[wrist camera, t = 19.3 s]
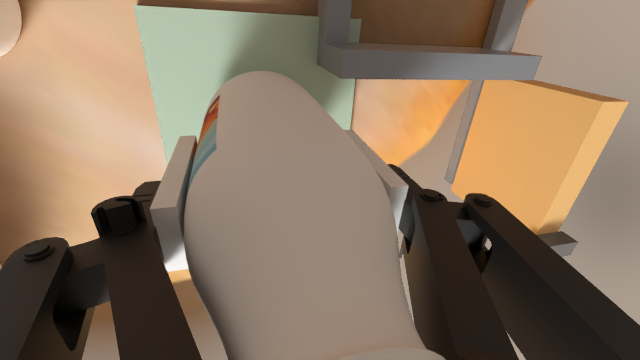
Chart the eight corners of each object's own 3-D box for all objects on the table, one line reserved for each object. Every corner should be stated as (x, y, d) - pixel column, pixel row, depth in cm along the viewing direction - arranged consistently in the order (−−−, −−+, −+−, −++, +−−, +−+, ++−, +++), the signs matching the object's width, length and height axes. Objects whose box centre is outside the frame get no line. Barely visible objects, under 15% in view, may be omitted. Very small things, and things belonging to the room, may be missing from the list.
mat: (136, 5, 17) (133, 5, 17) (358, 18, 21) (361, 19, 20) (178, 204, 24) (176, 208, 24) (341, 190, 28) (343, 193, 27)
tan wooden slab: (482, 73, 24) (622, 107, 15) (510, 74, 25) (659, 107, 16) (447, 190, 29) (537, 264, 21) (471, 188, 30) (567, 259, 21)
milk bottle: (244, 41, 18) (432, 445, 1) (337, 112, 22) (701, 453, 5) (183, 142, 20) (-72, 835, 3) (277, 190, 24) (392, 630, 7)
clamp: (327, -234, 15) (376, -360, 10) (570, -167, 19) (694, -233, 14) (310, 190, 27) (328, 231, 22) (461, 177, 31) (506, 209, 26)
